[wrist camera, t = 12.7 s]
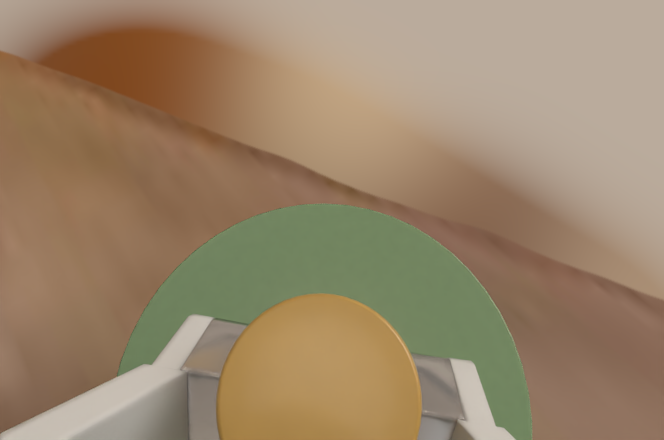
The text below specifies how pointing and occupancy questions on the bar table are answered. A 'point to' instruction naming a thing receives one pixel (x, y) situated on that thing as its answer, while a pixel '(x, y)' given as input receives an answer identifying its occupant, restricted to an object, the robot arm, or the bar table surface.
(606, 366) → the bar table surface
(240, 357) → the lid
